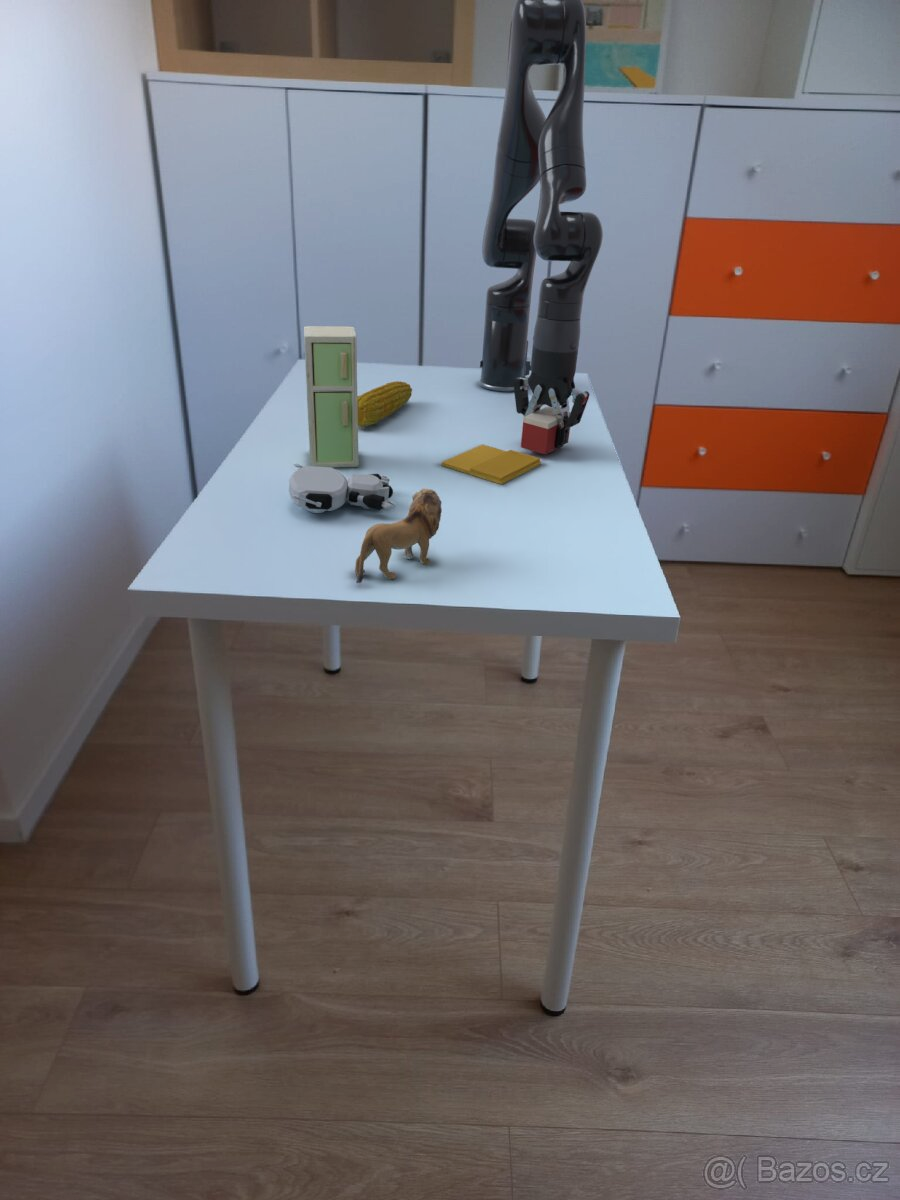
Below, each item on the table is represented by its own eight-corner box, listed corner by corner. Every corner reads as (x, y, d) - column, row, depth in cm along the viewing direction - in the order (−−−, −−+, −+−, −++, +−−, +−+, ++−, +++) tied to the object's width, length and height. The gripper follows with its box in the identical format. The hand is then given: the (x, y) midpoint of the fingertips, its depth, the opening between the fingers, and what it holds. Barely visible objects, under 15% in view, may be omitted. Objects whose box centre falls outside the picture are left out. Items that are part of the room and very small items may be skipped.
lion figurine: (418, 542, 112) (420, 480, 108) (449, 554, 110) (453, 491, 105) (342, 580, 102) (341, 513, 98) (374, 595, 99) (374, 527, 95)
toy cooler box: (544, 436, 150) (547, 406, 147) (568, 442, 147) (572, 412, 144) (520, 447, 144) (523, 416, 141) (545, 454, 141) (548, 423, 139)
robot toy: (388, 493, 128) (289, 487, 126) (390, 465, 126) (290, 459, 123) (394, 527, 118) (287, 521, 115) (397, 498, 116) (288, 491, 113)
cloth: (482, 447, 146) (482, 441, 145) (540, 464, 140) (541, 458, 139) (441, 465, 137) (441, 459, 137) (501, 484, 131) (502, 478, 131)
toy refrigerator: (309, 470, 133) (303, 336, 122) (308, 454, 139) (303, 325, 128) (359, 469, 134) (358, 337, 123) (356, 453, 140) (355, 326, 130)
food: (372, 433, 149) (372, 401, 146) (344, 428, 151) (344, 396, 148) (417, 403, 167) (418, 373, 164) (391, 398, 168) (392, 369, 165)
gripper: (605, 348, 136) (591, 447, 144) (530, 333, 143) (521, 428, 151) (583, 357, 130) (570, 459, 139) (506, 340, 137) (498, 438, 146)
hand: (544, 442), depth 145 cm, fingers closed on toy cooler box, 5 cm apart
